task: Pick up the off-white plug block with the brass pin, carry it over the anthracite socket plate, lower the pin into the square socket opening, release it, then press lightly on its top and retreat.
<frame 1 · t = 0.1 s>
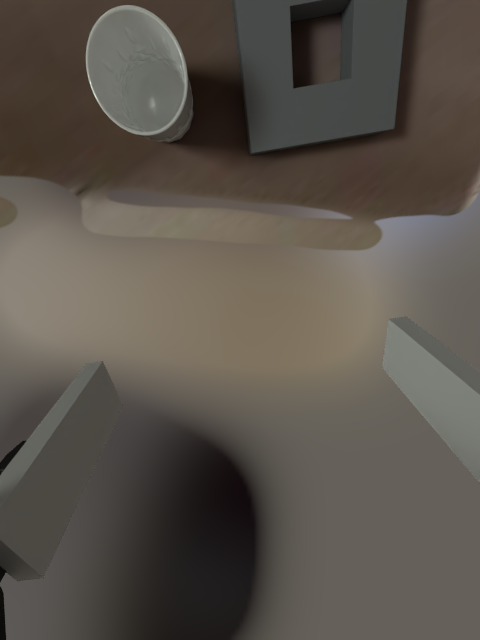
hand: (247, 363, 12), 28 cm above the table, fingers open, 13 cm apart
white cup: (164, 107, 30), on the table
socket plate: (313, 56, 29), on the table
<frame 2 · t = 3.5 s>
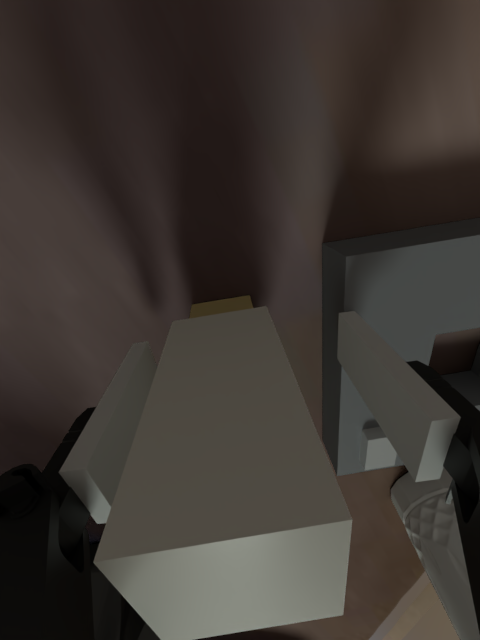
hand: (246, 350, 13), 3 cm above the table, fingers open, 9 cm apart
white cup: (422, 482, 26), on the table
socket plate: (438, 342, 18), on the table
plug: (225, 325, 16), on the table
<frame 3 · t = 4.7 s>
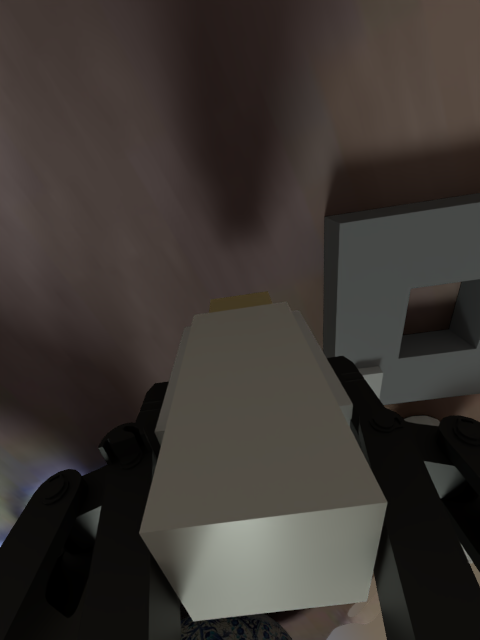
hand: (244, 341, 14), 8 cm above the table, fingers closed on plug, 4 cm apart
ceramic bowl: (226, 612, 56), on the table
socket plate: (420, 303, 22), on the table
plug: (243, 320, 16), point 5 cm above the table, touching gripper
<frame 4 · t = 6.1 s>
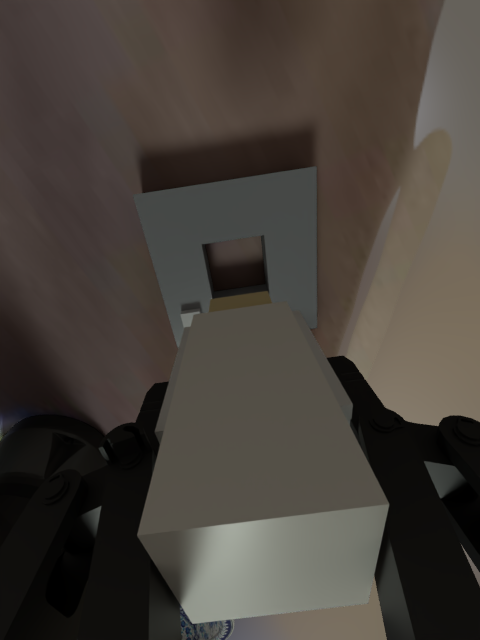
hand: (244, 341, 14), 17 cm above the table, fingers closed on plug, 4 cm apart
ceramic bowl: (159, 570, 62), on the table
socket plate: (236, 262, 29), on the table
plug: (242, 320, 16), point 14 cm above the table, touching gripper
when the fingers open (4 cm above the table, at t = 7.9 s): plug drops 1 cm, resting in socket plate.
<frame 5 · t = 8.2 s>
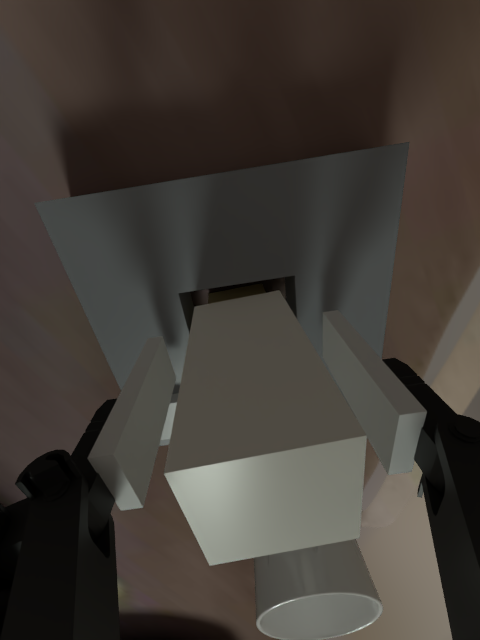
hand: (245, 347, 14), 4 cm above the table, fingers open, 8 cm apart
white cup: (286, 464, 25), on the table
socket plate: (241, 311, 18), on the table
plug: (239, 312, 17), resting in socket plate
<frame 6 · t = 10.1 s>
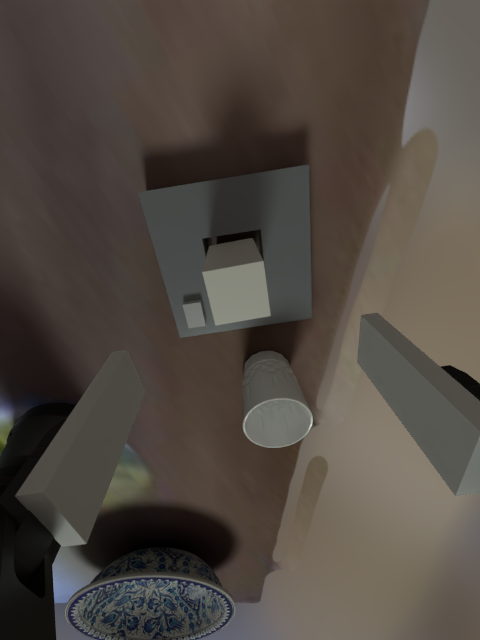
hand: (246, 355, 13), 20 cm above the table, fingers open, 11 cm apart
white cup: (265, 368, 39), on the table
ceramic bowl: (162, 557, 64), on the table
socket plate: (234, 256, 31), on the table
plug: (233, 256, 31), resting in socket plate
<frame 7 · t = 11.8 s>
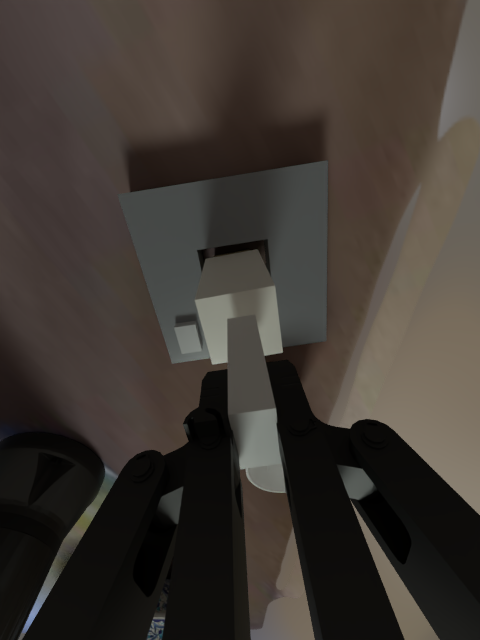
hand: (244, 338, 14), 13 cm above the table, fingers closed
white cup: (271, 393, 34), on the table
ceramic bowl: (157, 587, 59), on the table
socket plate: (236, 268, 26), on the table
plug: (235, 269, 26), resting in socket plate
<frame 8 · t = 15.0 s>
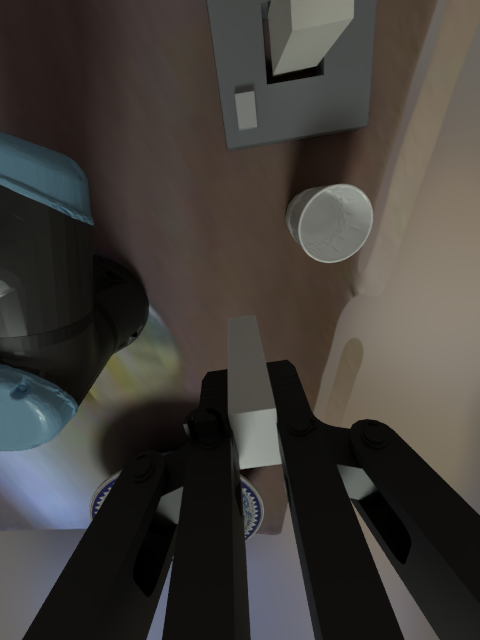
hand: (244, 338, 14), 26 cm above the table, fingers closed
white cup: (308, 215, 37), on the table
ceramic bowl: (185, 472, 62), on the table
socket plate: (287, 53, 29), on the table
plug: (286, 54, 29), resting in socket plate
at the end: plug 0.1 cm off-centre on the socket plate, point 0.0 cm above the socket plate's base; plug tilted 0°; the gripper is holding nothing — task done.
